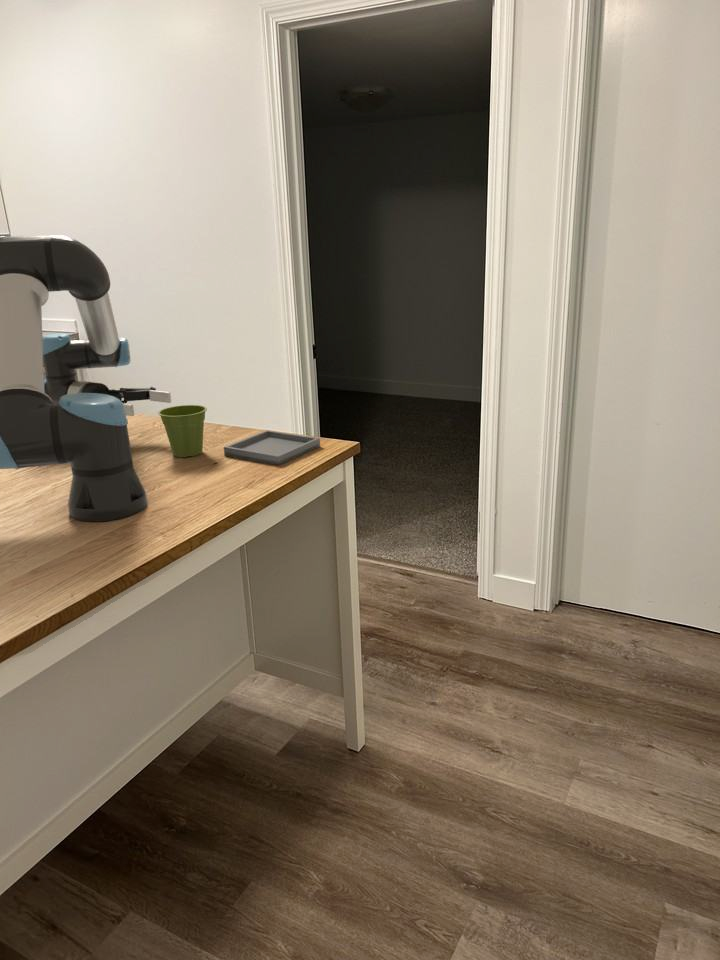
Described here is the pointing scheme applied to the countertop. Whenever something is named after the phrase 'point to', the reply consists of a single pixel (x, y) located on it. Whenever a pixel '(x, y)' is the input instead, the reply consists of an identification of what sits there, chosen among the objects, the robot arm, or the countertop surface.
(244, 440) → the tray
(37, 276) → the robot arm
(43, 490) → the countertop surface
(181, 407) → the plant pot
